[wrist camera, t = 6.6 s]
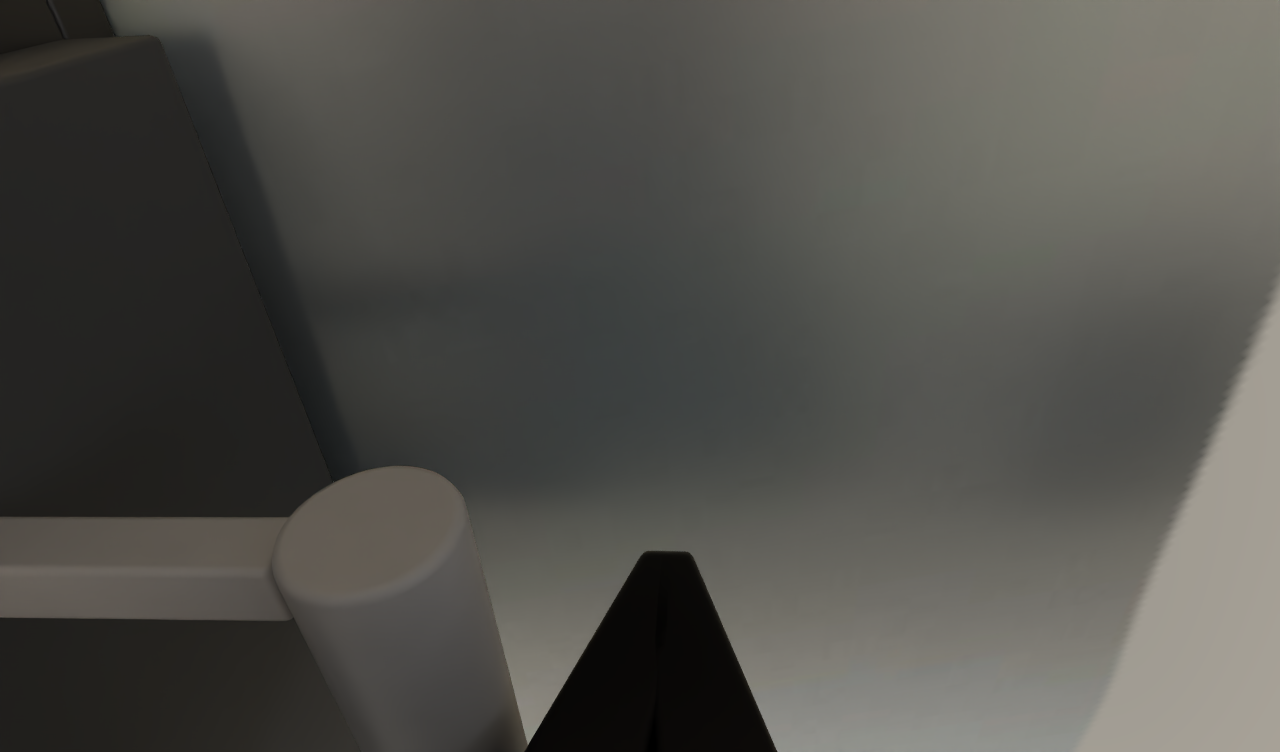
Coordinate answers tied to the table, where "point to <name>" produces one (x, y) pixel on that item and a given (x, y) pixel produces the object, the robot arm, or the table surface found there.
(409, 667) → the drawer
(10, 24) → the cabinet
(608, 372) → the table surface
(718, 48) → the table surface
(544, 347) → the table surface
